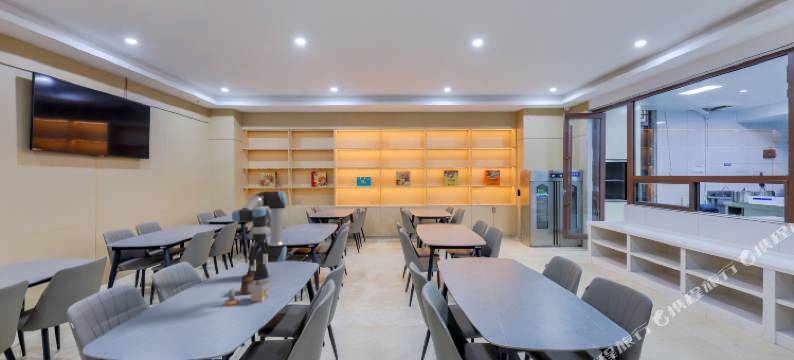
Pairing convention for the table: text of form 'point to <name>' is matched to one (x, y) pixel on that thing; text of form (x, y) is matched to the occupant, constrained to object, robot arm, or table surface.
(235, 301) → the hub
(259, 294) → the stand
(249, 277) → the wooden mug
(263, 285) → the square metal nut
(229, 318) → the table surface
